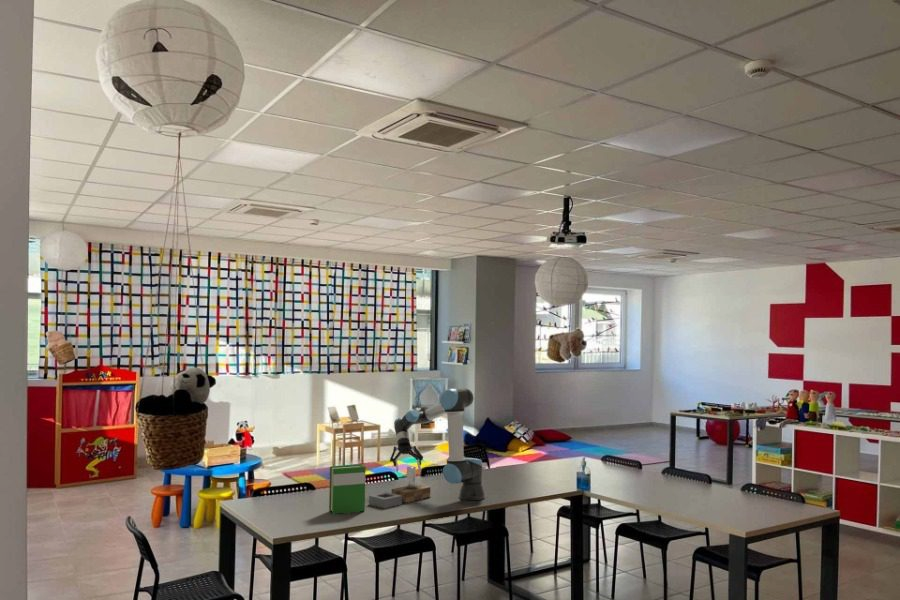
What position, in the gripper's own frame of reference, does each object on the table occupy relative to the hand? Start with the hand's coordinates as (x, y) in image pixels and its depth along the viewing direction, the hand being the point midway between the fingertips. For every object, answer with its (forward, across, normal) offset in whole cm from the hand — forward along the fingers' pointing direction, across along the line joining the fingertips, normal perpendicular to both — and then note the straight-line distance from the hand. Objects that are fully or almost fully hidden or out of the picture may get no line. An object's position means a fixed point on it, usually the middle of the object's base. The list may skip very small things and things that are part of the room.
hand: (408, 470), depth 405 cm
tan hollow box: (+14, -1, -8) cm, 16 cm away
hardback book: (+29, +40, +7) cm, 50 cm away
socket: (+22, +17, 0) cm, 28 cm away
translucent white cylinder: (+14, -1, -8) cm, 16 cm away
